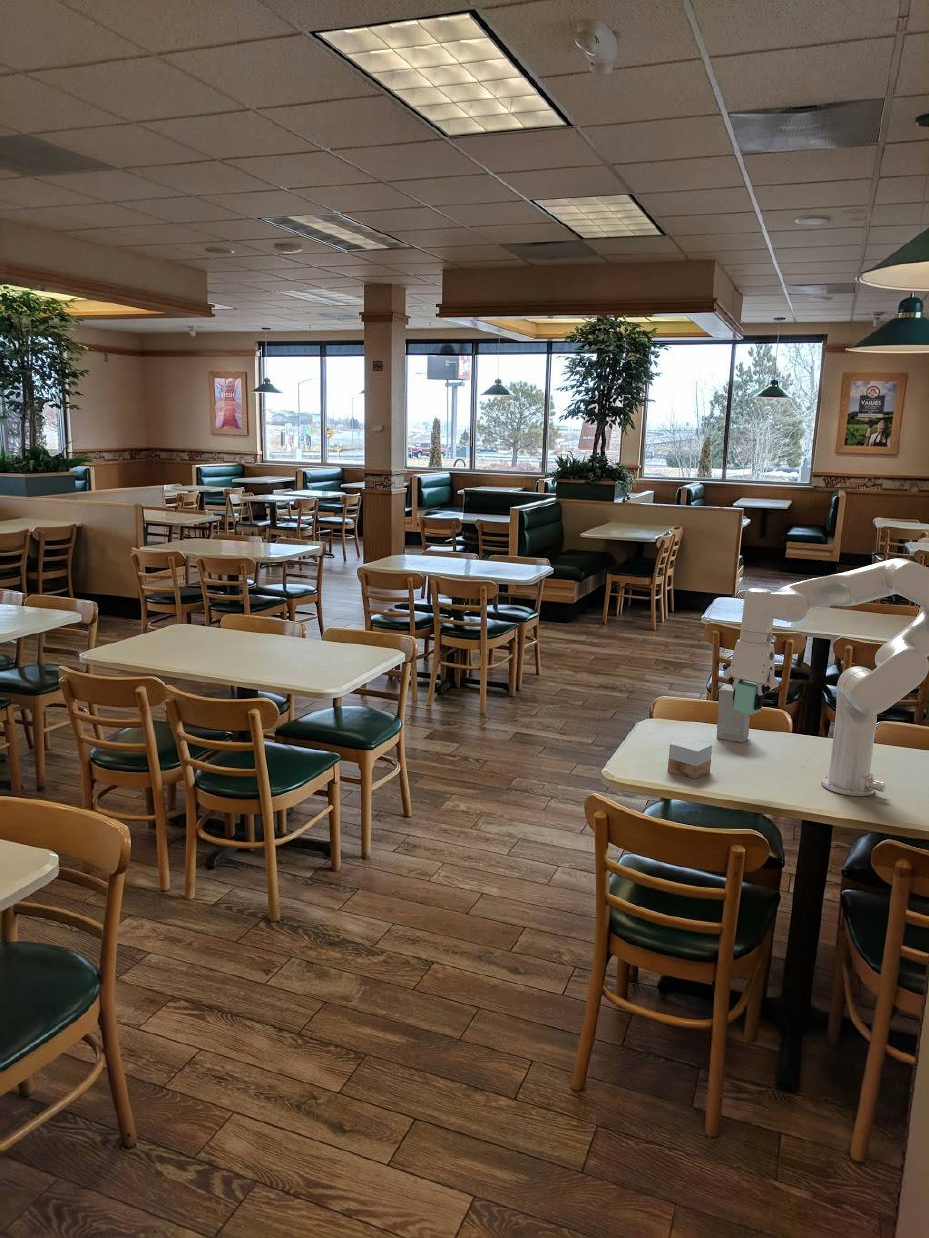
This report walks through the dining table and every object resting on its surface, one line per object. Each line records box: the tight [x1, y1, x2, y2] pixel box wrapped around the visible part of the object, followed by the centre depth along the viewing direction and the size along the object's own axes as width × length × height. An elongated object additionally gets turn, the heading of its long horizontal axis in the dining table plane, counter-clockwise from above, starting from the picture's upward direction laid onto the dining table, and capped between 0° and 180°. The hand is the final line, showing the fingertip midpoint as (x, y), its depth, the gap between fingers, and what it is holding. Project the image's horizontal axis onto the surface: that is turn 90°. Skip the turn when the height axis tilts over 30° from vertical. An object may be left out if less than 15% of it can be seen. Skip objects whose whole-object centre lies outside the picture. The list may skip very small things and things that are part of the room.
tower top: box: [668, 737, 713, 766], centre depth 235 cm, size 8×8×4 cm
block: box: [733, 680, 762, 716], centre depth 228 cm, size 5×5×7 cm
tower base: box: [667, 758, 712, 780], centre depth 236 cm, size 8×8×4 cm
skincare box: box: [716, 684, 751, 744], centre depth 265 cm, size 8×7×16 cm
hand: (747, 705), depth 229 cm, fingers closed on block, 5 cm apart
